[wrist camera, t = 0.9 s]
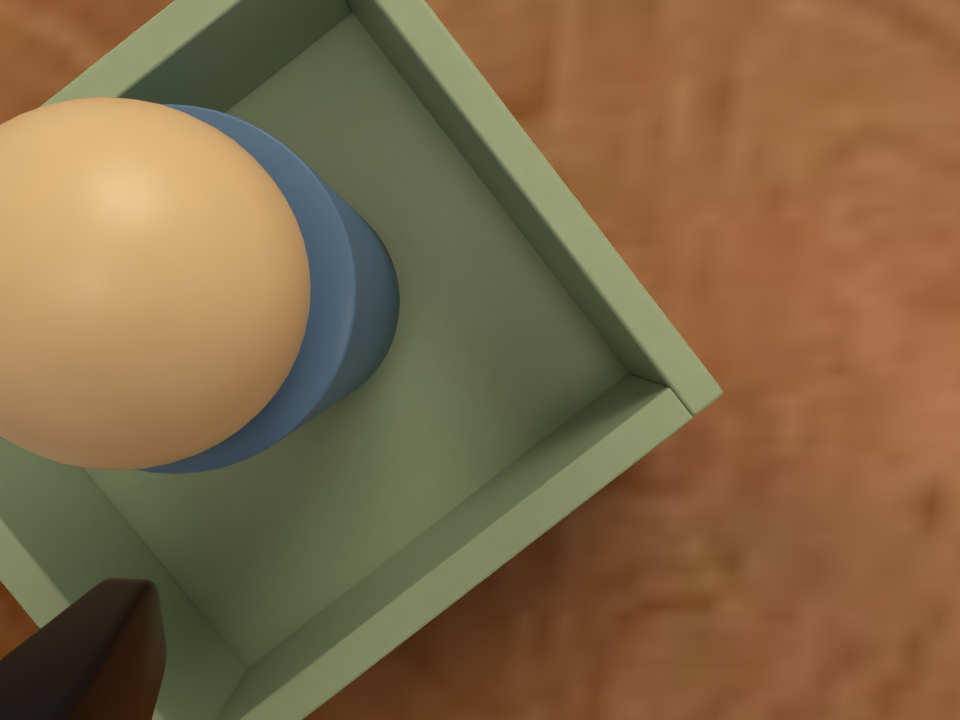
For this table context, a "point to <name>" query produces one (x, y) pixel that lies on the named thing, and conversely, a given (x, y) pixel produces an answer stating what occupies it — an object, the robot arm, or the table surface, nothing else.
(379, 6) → the green square tray
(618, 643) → the table surface
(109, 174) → the peg doll
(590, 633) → the table surface
